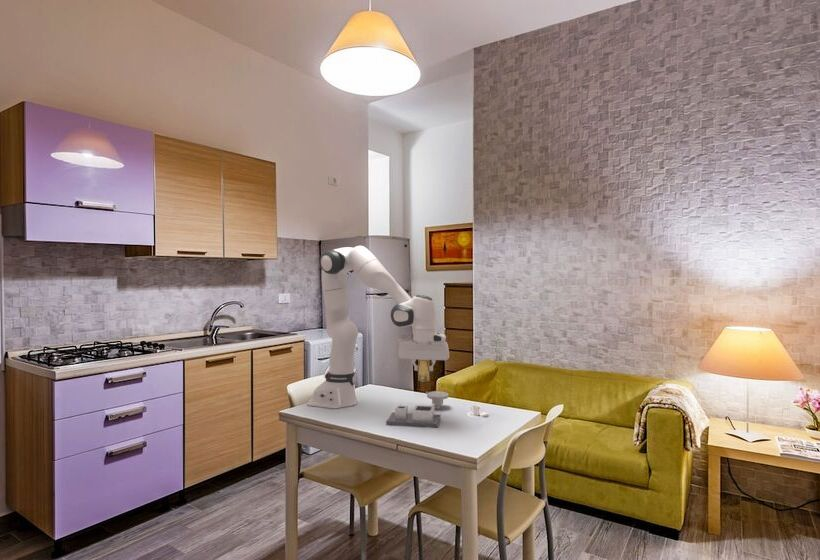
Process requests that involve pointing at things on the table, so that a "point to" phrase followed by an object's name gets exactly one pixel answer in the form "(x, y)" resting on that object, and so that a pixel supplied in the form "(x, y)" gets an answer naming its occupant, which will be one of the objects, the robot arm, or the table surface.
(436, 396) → the showerhead
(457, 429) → the table surface
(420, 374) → the cylinder
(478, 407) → the teacup and saucer
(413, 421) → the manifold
